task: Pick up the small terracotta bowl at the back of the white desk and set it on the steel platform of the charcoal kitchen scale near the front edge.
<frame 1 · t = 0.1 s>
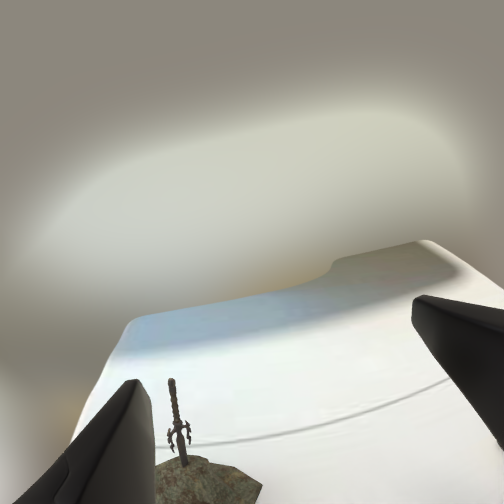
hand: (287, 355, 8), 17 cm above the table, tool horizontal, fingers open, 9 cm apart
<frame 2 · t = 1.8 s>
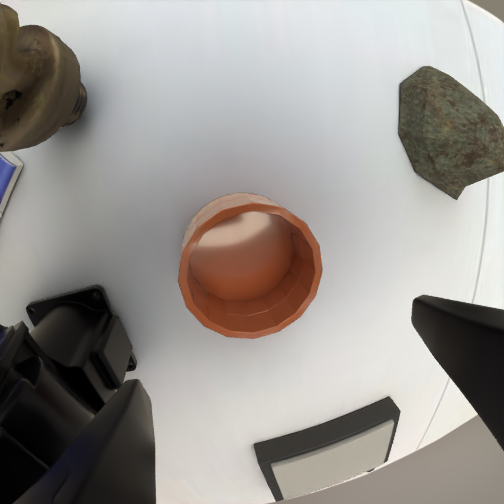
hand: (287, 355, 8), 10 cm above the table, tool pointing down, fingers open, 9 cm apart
bowl: (241, 250, 18), on the table
sword in stone: (437, 135, 18), on the table
scale: (326, 449, 26), on the table
light bulb: (68, 108, 13), on the table
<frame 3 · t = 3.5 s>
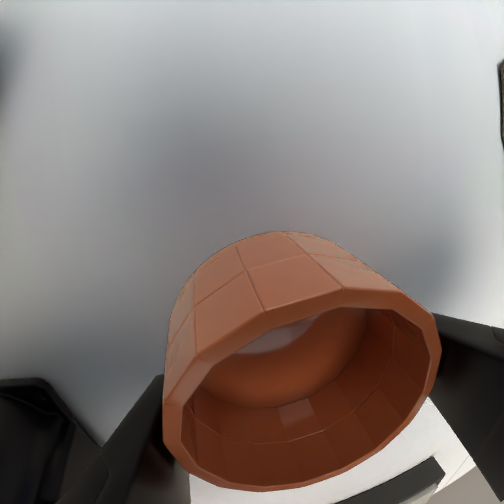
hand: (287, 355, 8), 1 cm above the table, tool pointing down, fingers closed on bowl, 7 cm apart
bowl: (276, 333, 10), on the table, touching gripper
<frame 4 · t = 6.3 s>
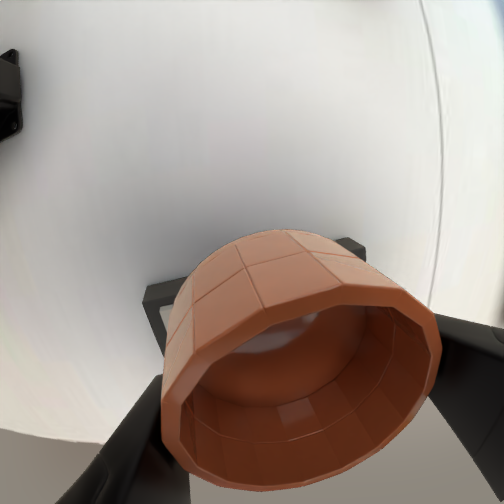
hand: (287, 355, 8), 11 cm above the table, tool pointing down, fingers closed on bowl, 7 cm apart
bowl: (276, 332, 10), point 10 cm above the table, touching gripper
scale: (264, 330, 21), on the table
when the fingers open (4 cm above the table, at t = 9.4 s): bowl stays where it is, resting on scale.
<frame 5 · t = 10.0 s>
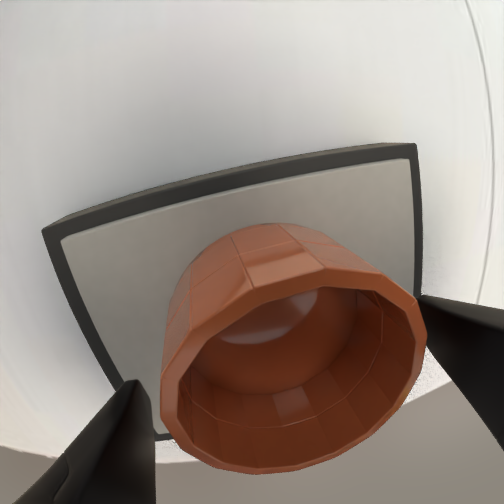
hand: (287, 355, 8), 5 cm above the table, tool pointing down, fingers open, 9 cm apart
bowl: (270, 320, 10), point 3 cm above the table, touching scale
scale: (257, 295, 13), on the table
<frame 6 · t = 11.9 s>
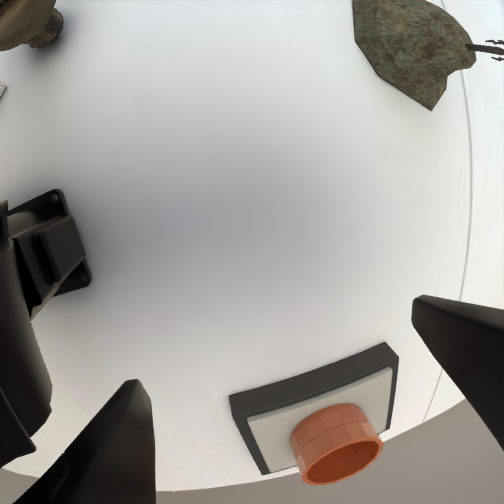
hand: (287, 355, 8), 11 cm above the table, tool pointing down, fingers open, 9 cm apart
bowl: (327, 430, 22), point 3 cm above the table, touching scale
sword in stone: (400, 47, 16), on the table
scale: (317, 410, 25), on the table
light bulb: (48, 37, 12), on the table
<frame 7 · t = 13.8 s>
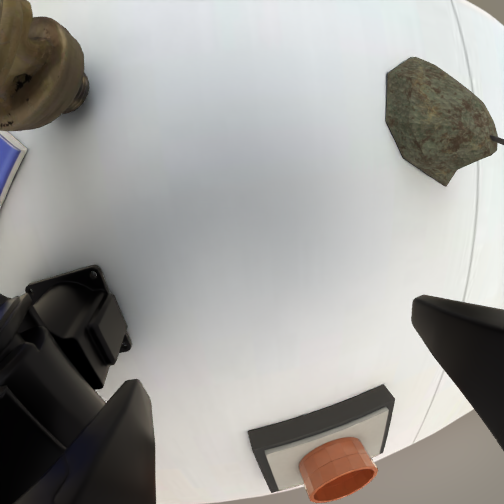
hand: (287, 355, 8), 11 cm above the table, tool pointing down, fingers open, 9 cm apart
bowl: (330, 457, 24), point 3 cm above the table, touching scale
sword in stone: (425, 123, 19), on the table
scale: (321, 438, 27), on the table
light bulb: (71, 97, 14), on the table
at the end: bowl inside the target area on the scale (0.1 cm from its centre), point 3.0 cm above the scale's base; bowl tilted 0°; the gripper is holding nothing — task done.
